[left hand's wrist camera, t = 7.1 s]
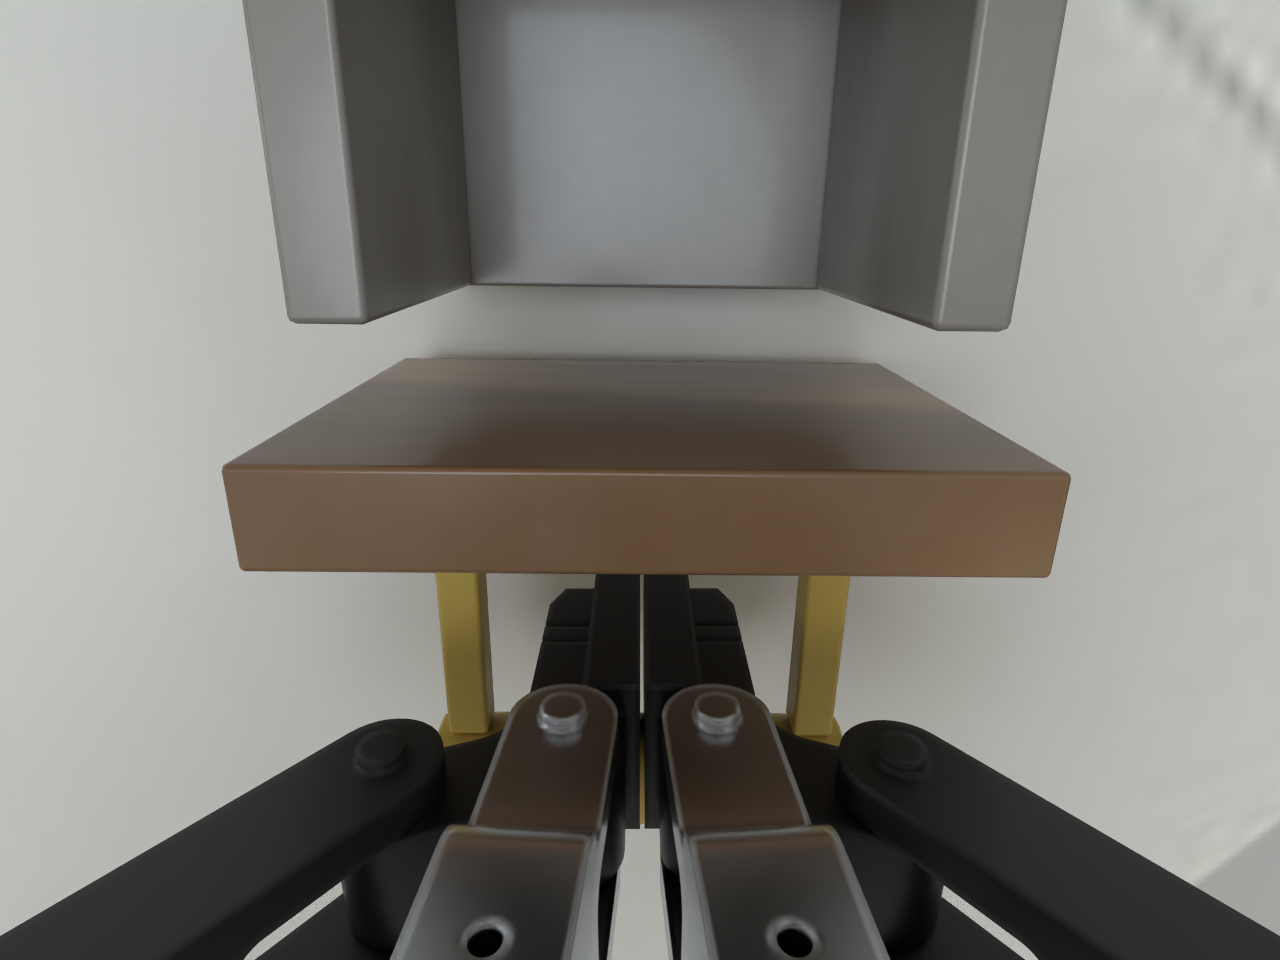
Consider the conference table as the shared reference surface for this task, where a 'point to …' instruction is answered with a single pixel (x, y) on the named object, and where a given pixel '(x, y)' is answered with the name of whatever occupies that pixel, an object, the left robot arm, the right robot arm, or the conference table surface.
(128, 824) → the conference table surface
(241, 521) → the drawer
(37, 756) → the conference table surface
